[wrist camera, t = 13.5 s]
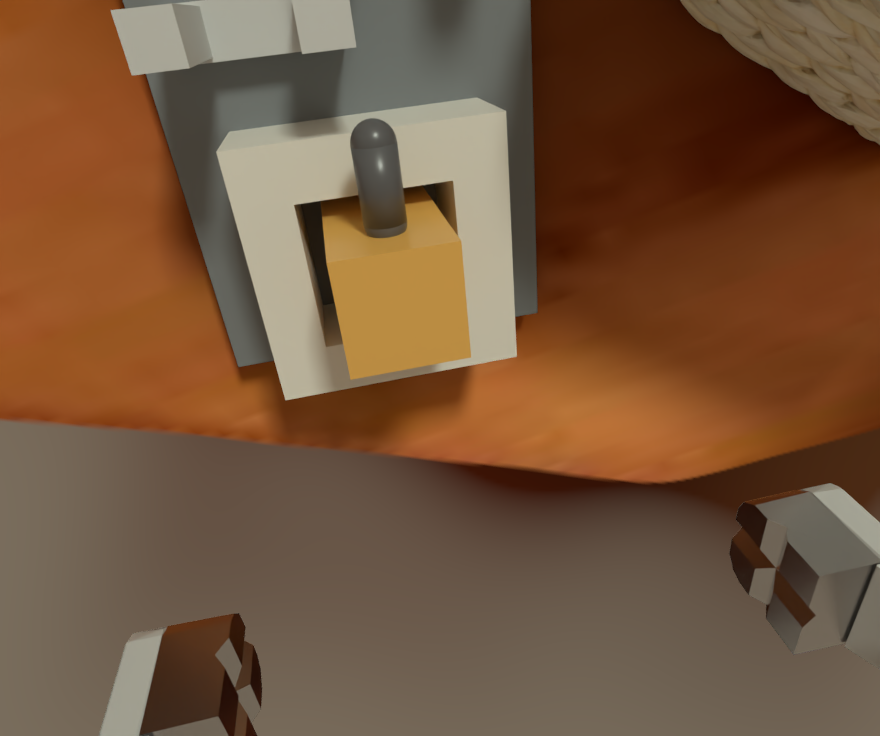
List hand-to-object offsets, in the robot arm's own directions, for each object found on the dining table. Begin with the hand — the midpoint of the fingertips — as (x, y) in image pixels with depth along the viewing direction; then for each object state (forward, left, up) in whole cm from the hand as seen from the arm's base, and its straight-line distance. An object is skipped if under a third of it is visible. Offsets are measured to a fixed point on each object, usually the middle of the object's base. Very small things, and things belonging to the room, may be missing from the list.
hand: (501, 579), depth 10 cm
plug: (0, -2, -19) cm, 19 cm away
